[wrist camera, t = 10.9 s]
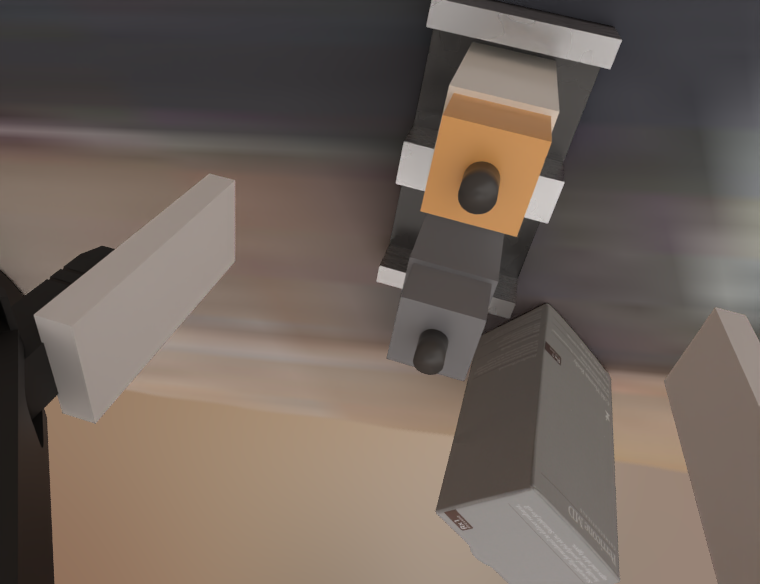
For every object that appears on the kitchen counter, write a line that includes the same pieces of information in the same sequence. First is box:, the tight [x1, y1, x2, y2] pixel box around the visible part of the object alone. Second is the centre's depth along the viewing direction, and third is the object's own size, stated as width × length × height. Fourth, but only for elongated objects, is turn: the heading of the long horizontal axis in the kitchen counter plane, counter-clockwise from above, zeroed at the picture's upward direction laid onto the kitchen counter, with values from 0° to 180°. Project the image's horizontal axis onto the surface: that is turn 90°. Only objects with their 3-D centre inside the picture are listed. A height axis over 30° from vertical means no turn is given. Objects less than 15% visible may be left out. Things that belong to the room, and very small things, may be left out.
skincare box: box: [436, 304, 620, 584], centre depth 34 cm, size 8×7×16 cm
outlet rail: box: [376, 0, 622, 319], centre depth 32 cm, size 9×17×4 cm, turn 170°
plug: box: [420, 42, 559, 237], centre depth 25 cm, size 4×4×14 cm
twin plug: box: [387, 213, 504, 381], centre depth 30 cm, size 4×4×14 cm
